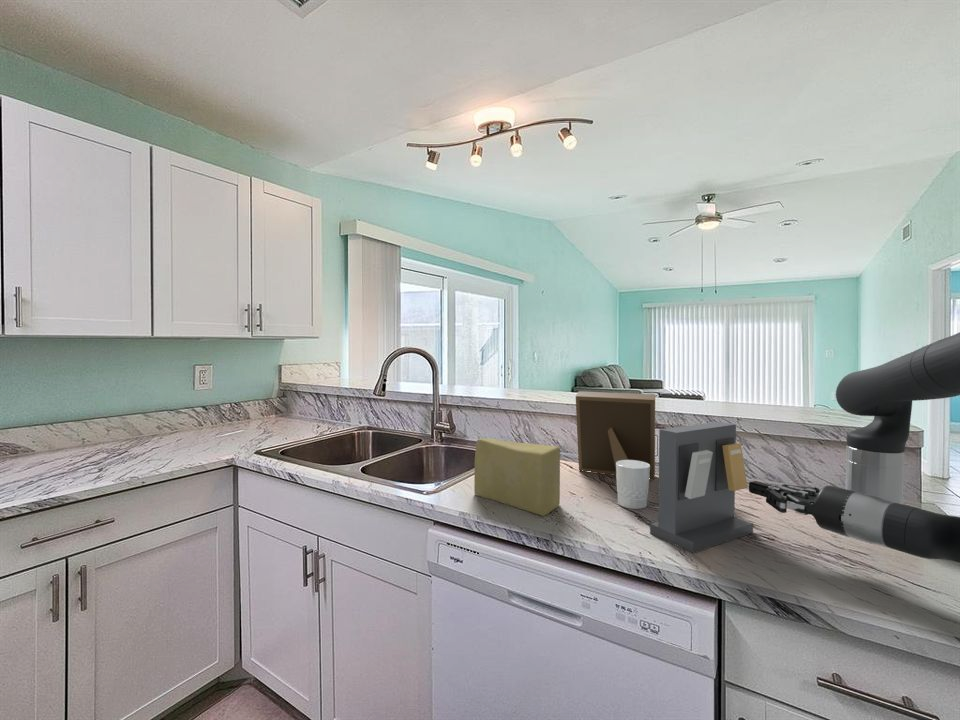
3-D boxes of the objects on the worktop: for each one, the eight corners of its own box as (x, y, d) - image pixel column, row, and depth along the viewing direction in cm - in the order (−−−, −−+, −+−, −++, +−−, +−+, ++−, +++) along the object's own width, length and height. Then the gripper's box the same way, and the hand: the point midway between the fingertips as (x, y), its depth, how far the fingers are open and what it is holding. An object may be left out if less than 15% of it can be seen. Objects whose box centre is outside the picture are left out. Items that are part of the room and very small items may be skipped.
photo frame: (581, 467, 143) (582, 389, 142) (655, 475, 134) (656, 392, 133) (571, 481, 129) (572, 394, 128) (652, 491, 120) (653, 398, 119)
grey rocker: (699, 492, 89) (707, 449, 88) (705, 495, 88) (713, 452, 86) (684, 496, 87) (692, 452, 85) (690, 499, 86) (698, 455, 84)
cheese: (464, 499, 114) (464, 440, 113) (485, 489, 122) (485, 434, 121) (543, 518, 101) (543, 452, 101) (561, 505, 109) (561, 444, 109)
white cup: (609, 504, 110) (610, 464, 110) (624, 496, 116) (624, 458, 115) (641, 512, 105) (641, 470, 104) (654, 504, 110) (655, 463, 110)
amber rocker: (741, 487, 93) (735, 443, 94) (747, 487, 92) (741, 443, 93) (728, 490, 91) (722, 445, 92) (734, 491, 90) (728, 445, 91)
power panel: (708, 516, 102) (710, 420, 101) (752, 532, 93) (755, 427, 93) (650, 533, 93) (651, 427, 92) (693, 553, 84) (694, 436, 83)
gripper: (875, 486, 77) (770, 463, 93) (837, 499, 71) (731, 472, 86) (874, 529, 78) (769, 499, 93) (836, 546, 71) (730, 510, 86)
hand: (751, 486), depth 89 cm, fingers closed
